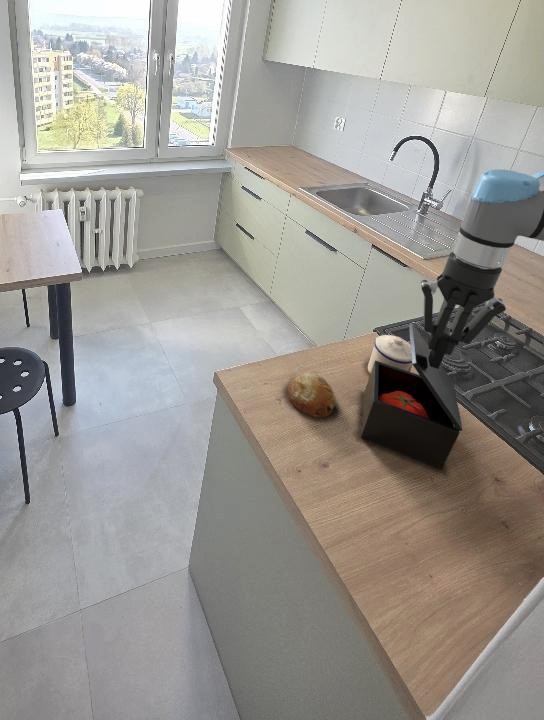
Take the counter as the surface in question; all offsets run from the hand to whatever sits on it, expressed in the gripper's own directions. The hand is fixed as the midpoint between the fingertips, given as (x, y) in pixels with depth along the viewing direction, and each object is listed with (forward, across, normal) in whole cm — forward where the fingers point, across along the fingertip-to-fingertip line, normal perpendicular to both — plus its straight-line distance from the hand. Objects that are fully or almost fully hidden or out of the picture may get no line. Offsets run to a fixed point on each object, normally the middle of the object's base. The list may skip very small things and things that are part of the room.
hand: (433, 362), depth 81 cm
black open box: (+20, +1, 0) cm, 20 cm away
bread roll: (+20, +19, +1) cm, 28 cm away
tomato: (+19, +2, 0) cm, 20 cm away
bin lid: (+3, -1, 0) cm, 3 cm away
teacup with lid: (+20, +4, -18) cm, 27 cm away
